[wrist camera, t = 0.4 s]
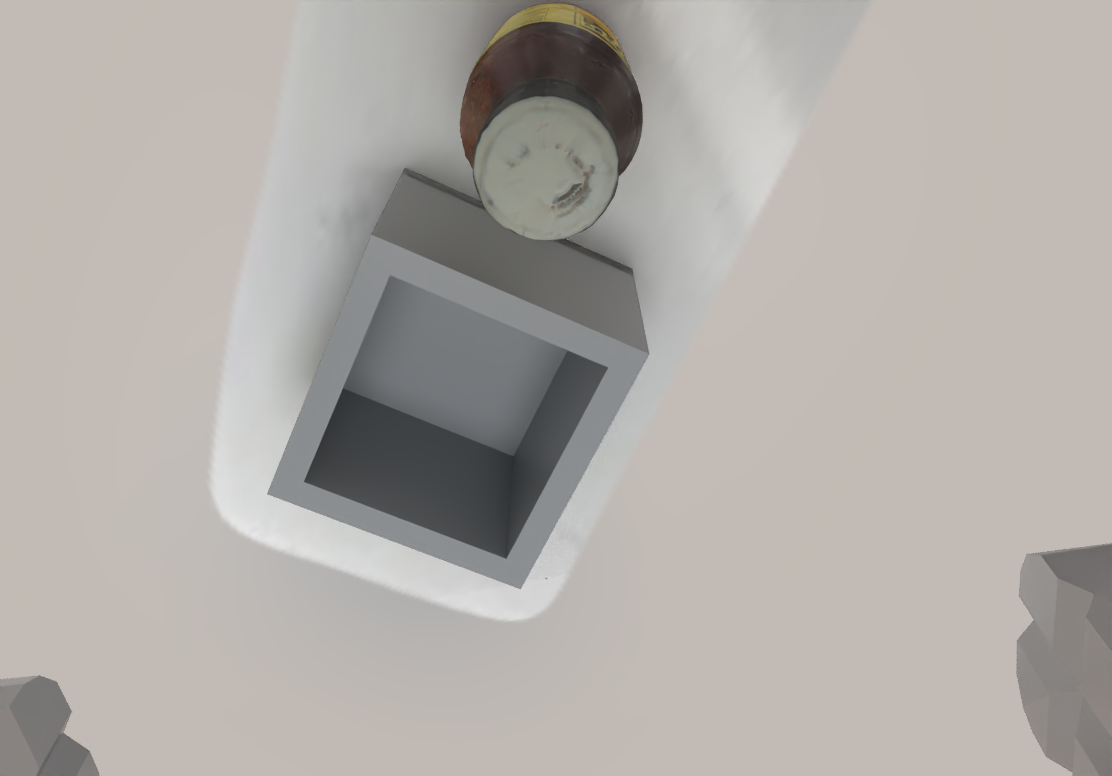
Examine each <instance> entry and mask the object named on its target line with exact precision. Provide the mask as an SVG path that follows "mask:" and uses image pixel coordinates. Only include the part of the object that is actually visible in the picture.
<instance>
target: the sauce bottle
mask: <svg viewBox="0 0 1112 776" xmlns="http://www.w3.org/2000/svg"><path fill="white" fill-rule="evenodd" d="M642 124H643V112H642V103H641V98H640V94H639V90H638V87H637V84H636V81H635V79H634V77H633V75H632V72H631V69H630V67H629V64H628V63H627V60H626V58H625V56H624V54H623V51H622V49H621V47H620V45H619V43H618V41H617V39H616V38H615V36H614V34H613V33H612V32H611V30H610V29H609V28H608V27H607V26H606V25H605V24H604V23H603V22H602V21H601V20H600V19H598V18H597V17H595V16H594V15H593V14H591V13H589V12H587V11H585V10H584V9H581V8H579V7H576V6H573V5H569V4H561V3H549V4H541V5H536V6H533V7H530V8H527V9H525V10H523V11H521V12H519V13H517V14H515V15H513V16H512V17H510V18H509V19H508V20H507V21H506V22H505V23H504V24H503V25H502V27H501V28H500V29H499V30H498V31H497V33H496V34H495V35H494V37H493V38H492V40H491V41H490V43H489V44H488V46H487V48H486V49H485V51H484V52H483V54H482V55H481V57H480V58H479V60H478V62H477V63H476V65H475V67H474V68H473V71H472V73H471V75H470V77H469V80H468V83H467V87H466V90H465V94H464V97H463V103H462V108H461V119H460V133H461V138H462V143H463V147H464V150H465V156H466V158H467V159H468V160H469V162H470V165H471V167H472V168H473V178H474V182H475V186H476V189H477V192H478V194H479V197H480V199H481V201H482V204H483V206H484V207H485V209H486V210H487V211H488V213H489V214H490V215H491V216H492V217H493V218H494V219H495V220H496V222H497V223H499V224H500V225H502V226H503V227H504V228H506V229H508V230H510V231H512V232H513V233H515V234H516V235H520V236H523V237H527V238H529V239H532V240H540V241H552V240H558V239H566V238H568V237H570V236H572V235H574V234H578V233H580V232H582V231H584V230H586V229H587V228H589V227H591V226H592V225H593V224H594V223H595V222H596V221H597V220H598V218H599V217H600V216H601V215H602V214H603V213H604V212H605V210H606V208H607V207H608V205H609V204H610V202H611V200H612V199H613V197H614V196H615V192H616V189H617V185H618V177H619V176H620V175H621V174H622V173H623V172H624V171H625V169H626V168H627V166H628V165H629V164H630V162H631V161H632V159H633V156H634V154H635V152H636V150H637V147H638V144H639V141H640V137H641V131H642Z"/></svg>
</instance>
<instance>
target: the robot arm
mask: <svg viewBox="0 0 1112 776" xmlns="http://www.w3.org/2000/svg"><path fill="white" fill-rule="evenodd" d="M1019 597H1020V598H1021V600H1022V601H1023V603H1024V604H1025V606H1026V608H1027V609H1028V611H1029V613H1030V614H1031V616H1032V617H1033V619H1034V620H1033V622H1032V623H1031V624H1030V625H1029V626H1028V628H1027V629H1026V630H1025V631H1024V632H1023V634H1022V635H1021V636H1020V637H1019V639H1018V640H1017V677H1018V683H1019V688H1020V693H1021V699H1022V704H1023V708H1024V711H1025V713H1026V716H1027V719H1028V721H1029V724H1030V727H1031V729H1032V732H1033V734H1034V735H1035V737H1036V739H1037V741H1038V743H1039V745H1040V746H1041V748H1042V750H1043V752H1044V754H1045V756H1046V757H1048V758H1049V759H1051V760H1053V761H1054V762H1056V763H1058V764H1059V765H1061V766H1063V767H1064V768H1066V769H1068V770H1069V771H1071V772H1073V776H1112V543H1111V544H1102V545H1095V546H1087V547H1080V548H1072V549H1063V550H1056V551H1048V552H1040V553H1033V554H1027V555H1026V557H1025V560H1024V563H1023V565H1022V568H1021V573H1020V589H1019ZM70 714H71V709H70V707H69V705H68V703H67V701H66V699H65V697H64V695H63V693H62V691H61V690H60V687H59V685H58V683H57V682H56V681H53V680H51V679H48V678H45V677H42V676H30V677H21V678H10V679H0V776H99V772H98V770H97V767H96V765H95V763H94V760H93V758H92V756H91V753H90V751H89V750H87V749H86V748H85V747H83V746H82V745H80V744H79V743H77V742H76V741H74V740H73V739H71V738H70V737H68V736H67V735H65V734H64V733H63V732H64V730H65V727H66V724H67V722H68V720H69V717H70Z"/></svg>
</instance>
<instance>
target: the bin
mask: <svg viewBox="0 0 1112 776" xmlns="http://www.w3.org/2000/svg"><path fill="white" fill-rule="evenodd" d="M648 355H649V351H648V346H647V341H646V336H645V331H644V326H643V321H642V316H641V311H640V306H639V301H638V296H637V291H636V286H635V281H634V276H633V271H632V269H631V268H628V267H626V266H624V265H622V264H619V263H617V262H615V261H613V260H610V259H608V258H606V257H604V256H601V255H599V254H597V253H595V252H593V251H590V250H588V249H586V248H584V247H581V246H579V245H577V244H575V243H572V242H570V241H568V240H566V239H558V240H552V241H540V240H532V239H529V238H527V237H523V236H520V235H516V234H515V233H513V232H512V231H510V230H508V229H506V228H504V227H503V226H502V225H500V224H499V223H497V222H496V220H495V219H494V218H493V217H492V216H491V215H490V214H489V213H488V211H487V210H486V209H485V207H484V206H483V204H482V202H480V201H478V200H476V199H473V198H471V197H469V196H467V195H464V194H462V193H460V192H458V191H455V190H453V189H451V188H449V187H446V186H444V185H442V184H440V183H437V182H435V181H433V180H431V179H428V178H426V177H424V176H422V175H419V174H417V173H415V172H413V171H410V170H408V169H406V168H405V169H404V171H403V173H402V175H401V177H400V179H399V181H398V183H397V185H396V187H395V189H394V191H393V193H392V195H391V197H390V199H389V201H388V203H387V205H386V207H385V209H384V211H383V213H382V215H381V217H380V219H379V221H378V223H377V225H376V227H375V229H374V231H373V232H372V234H371V237H370V239H369V242H368V244H367V247H366V249H365V252H364V254H363V257H362V259H361V262H360V264H359V267H358V269H357V272H356V274H355V277H354V279H353V282H352V284H351V287H350V289H349V292H348V294H347V297H346V299H345V302H344V304H343V307H342V309H341V312H340V314H339V316H338V319H337V321H336V324H335V326H334V329H333V331H332V334H331V336H330V339H329V341H328V344H327V346H326V349H325V351H324V354H323V356H322V359H321V361H320V364H319V366H318V369H317V371H316V374H315V376H314V379H313V381H312V384H311V386H310V389H309V391H308V394H307V396H306V399H305V401H304V404H303V406H302V408H301V411H300V413H299V416H298V418H297V421H296V423H295V426H294V428H293V431H292V433H291V436H290V438H289V441H288V443H287V446H286V448H285V451H284V453H283V456H282V458H281V461H280V463H279V466H278V468H277V471H276V473H275V476H274V478H273V481H272V483H271V486H270V488H269V491H268V493H267V494H268V495H271V496H274V497H276V498H279V499H282V500H284V501H287V502H290V503H292V504H295V505H298V506H300V507H303V508H306V509H308V510H311V511H314V512H316V513H319V514H322V515H324V516H327V517H330V518H332V519H335V520H338V521H340V522H343V523H346V524H348V525H351V526H354V527H356V528H359V529H362V530H364V531H367V532H370V533H372V534H375V535H378V536H380V537H383V538H386V539H388V540H391V541H394V542H396V543H399V544H402V545H404V546H407V547H410V548H412V549H415V550H418V551H420V552H423V553H426V554H428V555H431V556H434V557H436V558H439V559H442V560H444V561H447V562H450V563H452V564H455V565H458V566H460V567H463V568H466V569H468V570H471V571H474V572H476V573H479V574H482V575H484V576H487V577H490V578H492V579H495V580H498V581H500V582H503V583H506V584H508V585H511V586H513V587H516V588H519V589H521V588H522V586H523V584H524V582H525V580H526V578H527V577H528V575H529V573H530V571H531V569H532V567H533V566H534V564H535V562H536V560H537V558H538V556H539V555H540V553H541V551H542V549H543V547H544V545H545V544H546V542H547V540H548V538H549V536H550V535H551V533H552V531H553V529H554V527H555V525H556V524H557V522H558V520H559V518H560V516H561V514H562V513H563V511H564V509H565V507H566V505H567V503H568V502H569V500H570V498H571V496H572V494H573V492H574V491H575V489H576V487H577V485H578V483H579V481H580V480H581V478H582V476H583V474H584V472H585V471H586V469H587V467H588V465H589V463H590V461H591V460H592V458H593V456H594V454H595V452H596V450H597V449H598V447H599V445H600V443H601V441H602V439H603V438H604V436H605V434H606V432H607V430H608V428H609V427H610V425H611V423H612V421H613V419H614V417H615V416H616V414H617V412H618V410H619V408H620V406H621V405H622V403H623V401H624V399H625V397H626V396H627V394H628V392H629V390H630V388H631V386H632V385H633V383H634V381H635V379H636V377H637V375H638V374H639V372H640V370H641V368H642V366H643V364H644V363H645V361H646V359H647V357H648Z"/></svg>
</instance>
